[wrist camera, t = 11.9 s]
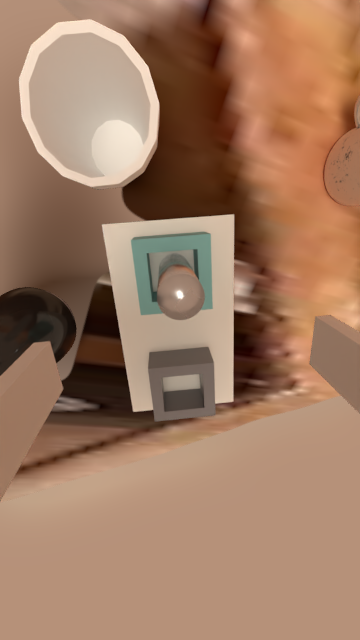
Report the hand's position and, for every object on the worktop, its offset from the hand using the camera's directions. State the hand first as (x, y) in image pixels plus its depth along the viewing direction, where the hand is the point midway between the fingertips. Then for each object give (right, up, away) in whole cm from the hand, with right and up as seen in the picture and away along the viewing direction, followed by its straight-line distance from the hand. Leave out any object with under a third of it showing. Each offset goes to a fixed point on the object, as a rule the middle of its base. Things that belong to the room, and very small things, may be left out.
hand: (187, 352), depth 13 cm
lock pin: (-1, +8, +21) cm, 22 cm away
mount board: (-1, +1, +25) cm, 25 cm away
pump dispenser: (-19, +2, +24) cm, 31 cm away
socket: (-1, +8, +21) cm, 22 cm away
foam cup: (-7, +21, +17) cm, 28 cm away
